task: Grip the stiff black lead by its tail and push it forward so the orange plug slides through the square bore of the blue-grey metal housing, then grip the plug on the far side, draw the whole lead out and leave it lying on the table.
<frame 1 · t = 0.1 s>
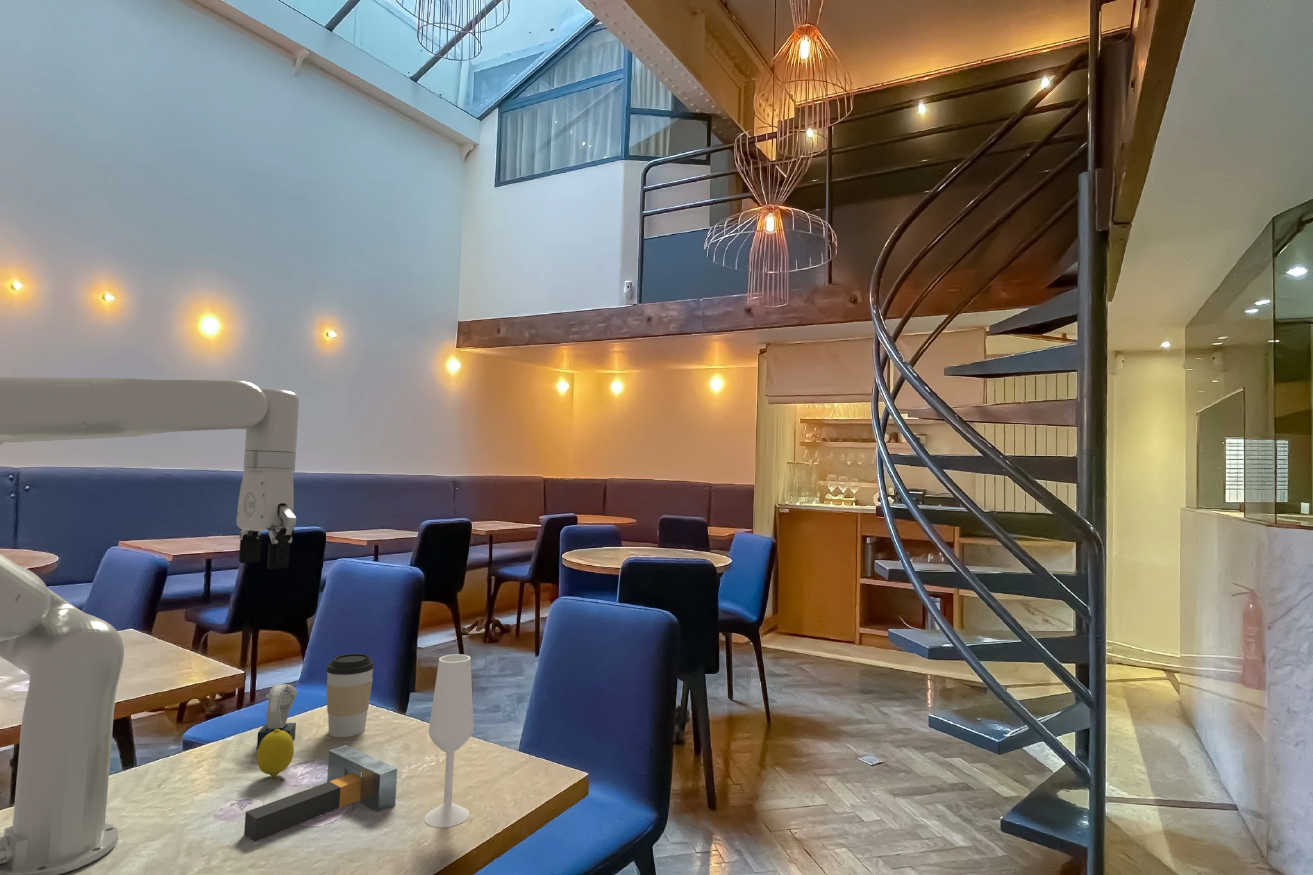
hand: (263, 565, 112), 37 cm above the table, tool pointing down, fingers open, 9 cm apart
watch: (276, 744, 129), on the table
housing: (360, 794, 110), on the table
coffee cup: (346, 731, 136), on the table
lemon: (274, 777, 115), on the table
champagne flute: (447, 817, 104), on the table
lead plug: (306, 815, 103), on the table
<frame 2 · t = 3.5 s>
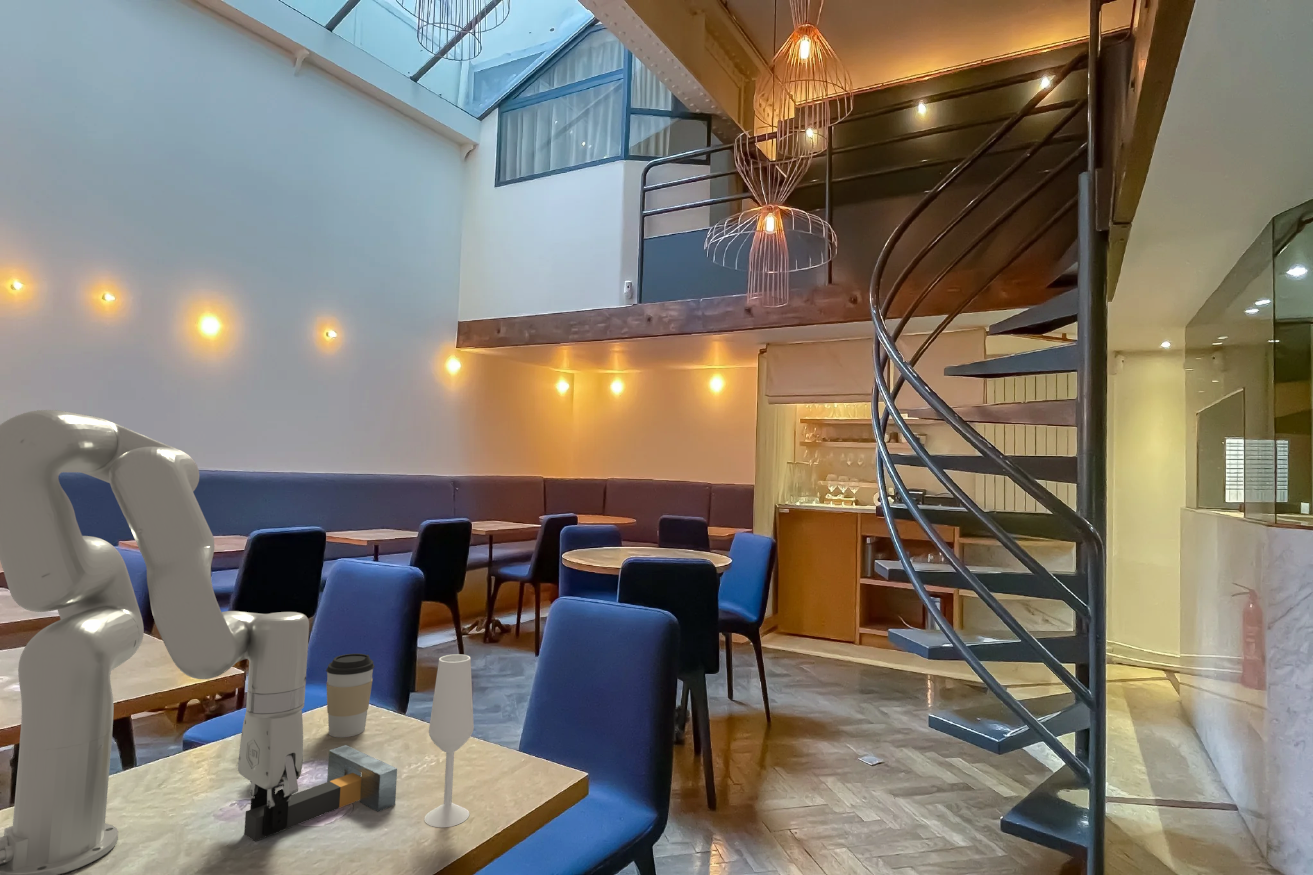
hand: (268, 825, 98), 1 cm above the table, tool pointing down, fingers closed on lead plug, 3 cm apart
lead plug: (306, 815, 103), on the table, touching gripper
everything else where it was.
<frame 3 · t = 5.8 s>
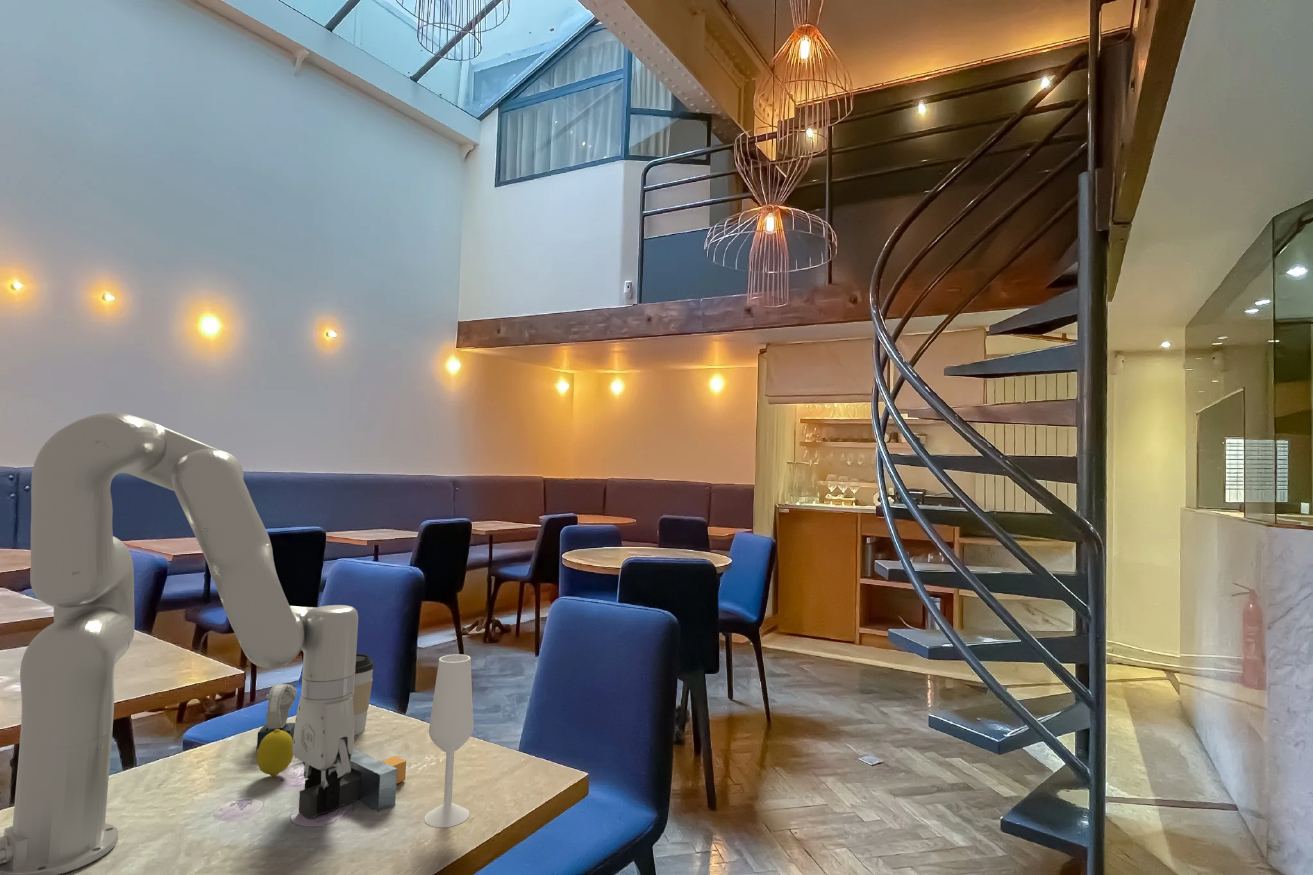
hand: (321, 805, 104), 1 cm above the table, tool pointing down, fingers closed on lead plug, 3 cm apart
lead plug: (354, 795, 109), on the table, touching gripper
everything else where it was.
when the fingers open (1 cm above the table, at t = 6.6 s): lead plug stays where it is, on the table.
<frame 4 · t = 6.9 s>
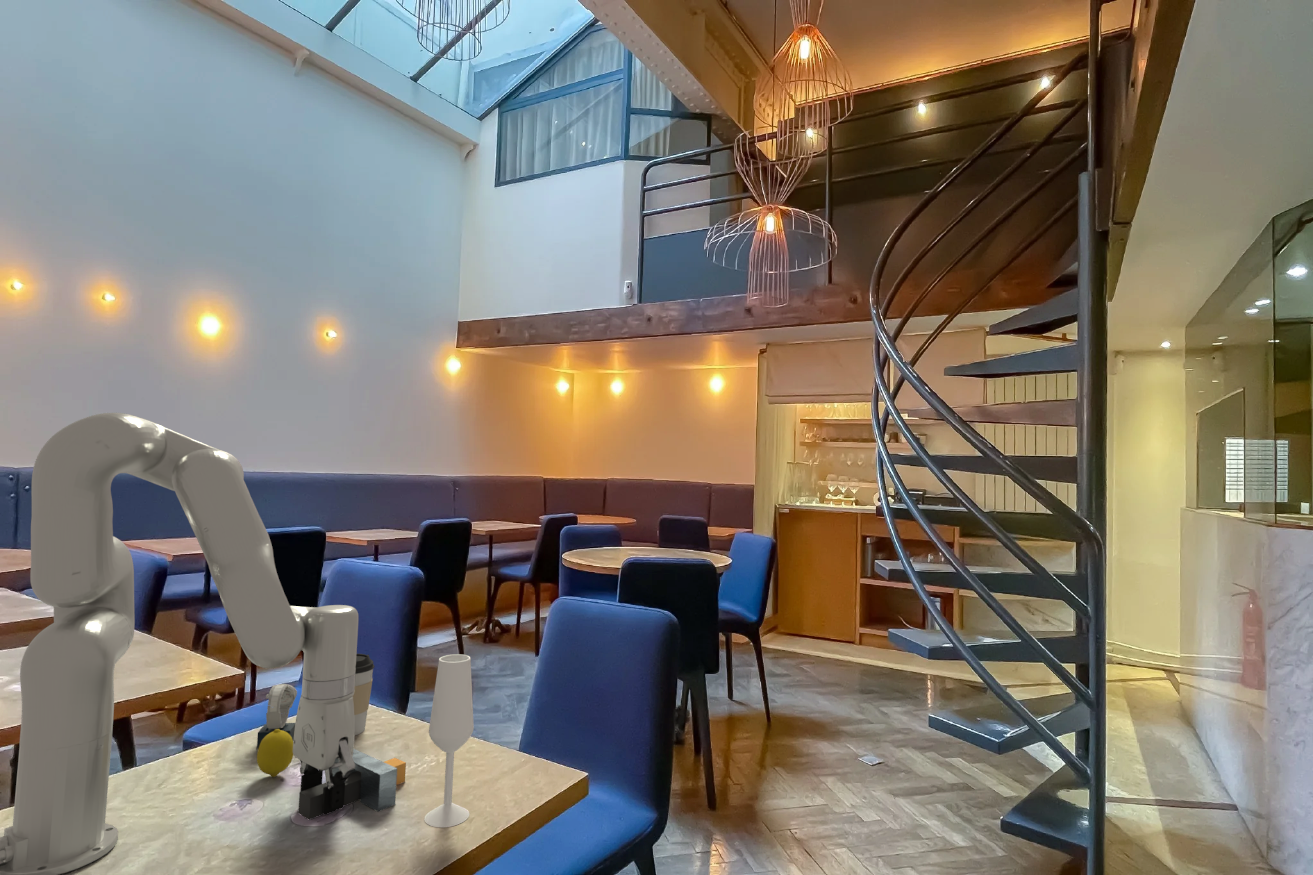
hand: (321, 803, 105), 1 cm above the table, tool pointing down, fingers open, 5 cm apart
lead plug: (354, 796, 109), on the table
everything else where it was.
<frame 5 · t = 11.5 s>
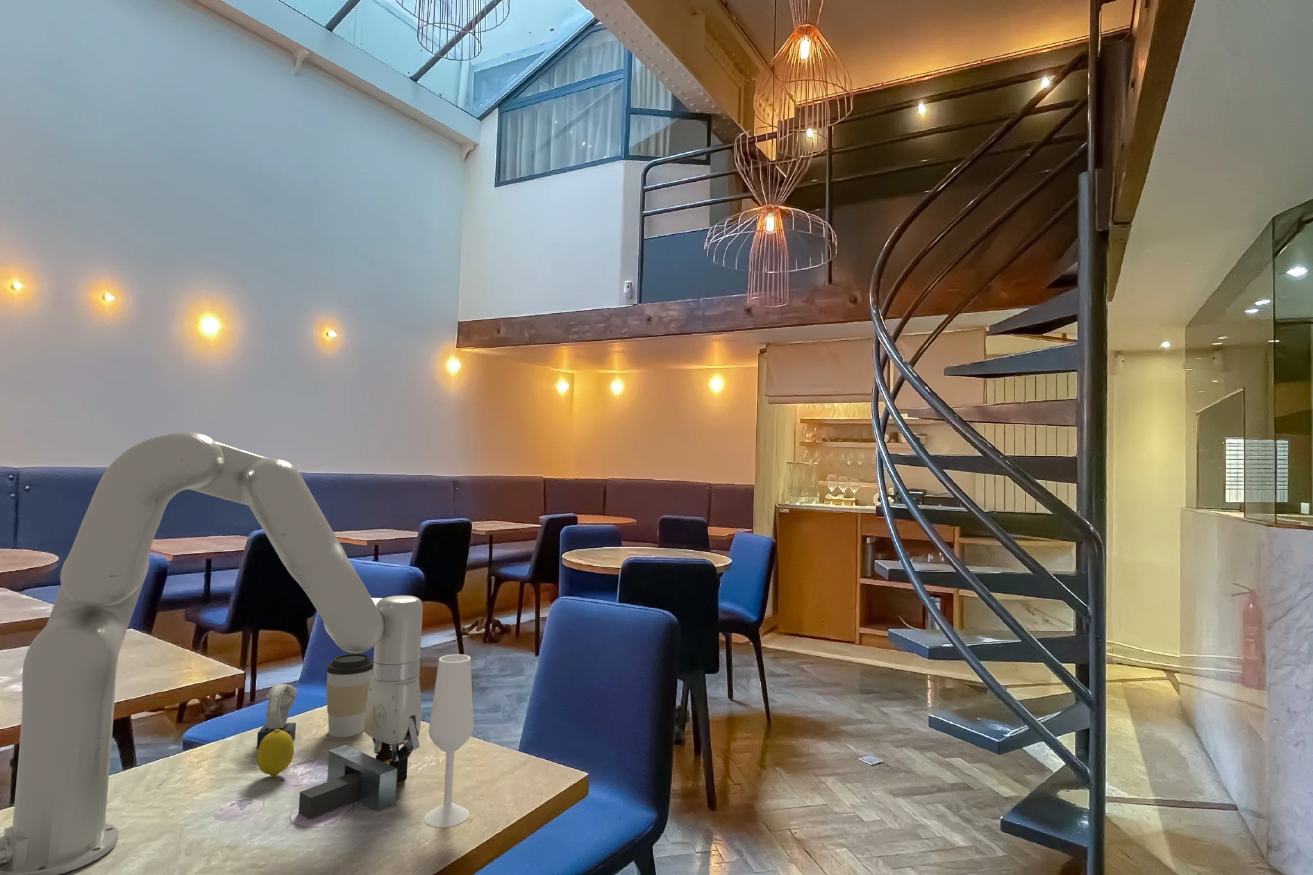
hand: (390, 778, 114), 1 cm above the table, tool pointing down, fingers closed on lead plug, 3 cm apart
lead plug: (354, 796, 109), on the table, touching gripper
everything else where it was.
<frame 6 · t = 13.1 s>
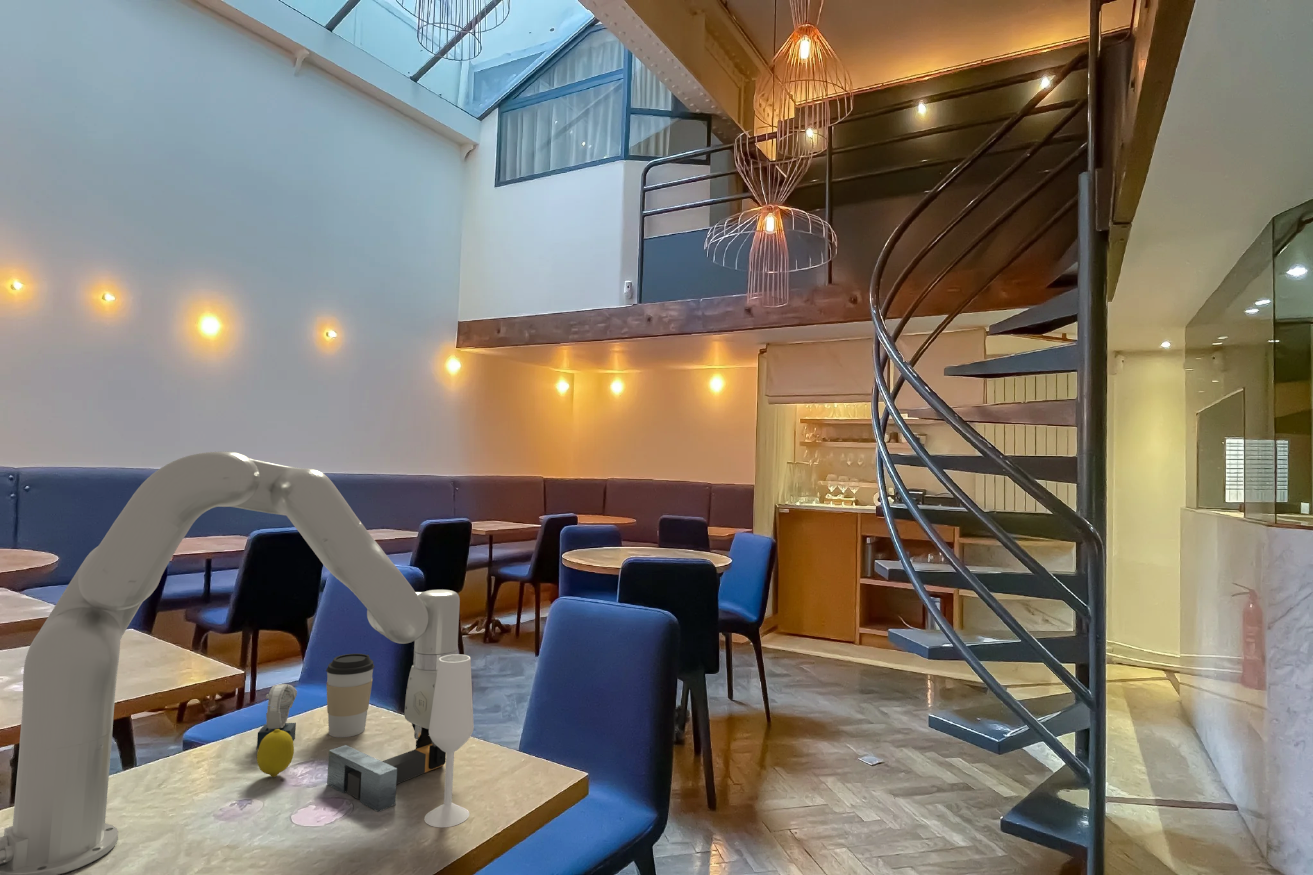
hand: (430, 762, 121), 1 cm above the table, tool pointing down, fingers closed on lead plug, 3 cm apart
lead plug: (397, 778, 115), on the table, touching gripper
everything else where it was.
when the fingers open (1 cm above the table, at t = 14.8 s): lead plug stays where it is, on the table.
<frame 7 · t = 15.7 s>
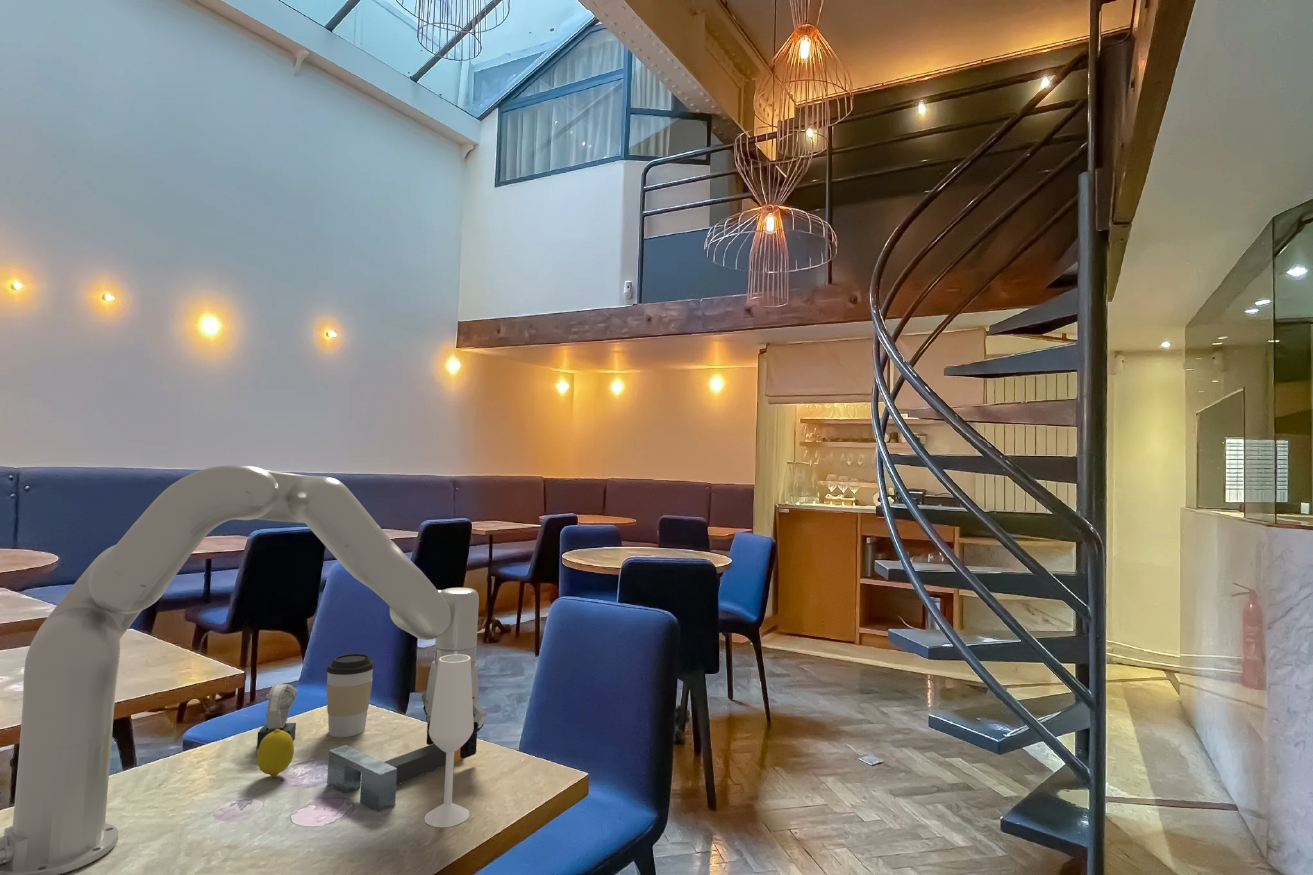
hand: (450, 749, 125), 2 cm above the table, tool pointing down, fingers open, 9 cm apart
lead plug: (420, 770, 119), on the table
everything else where it was.
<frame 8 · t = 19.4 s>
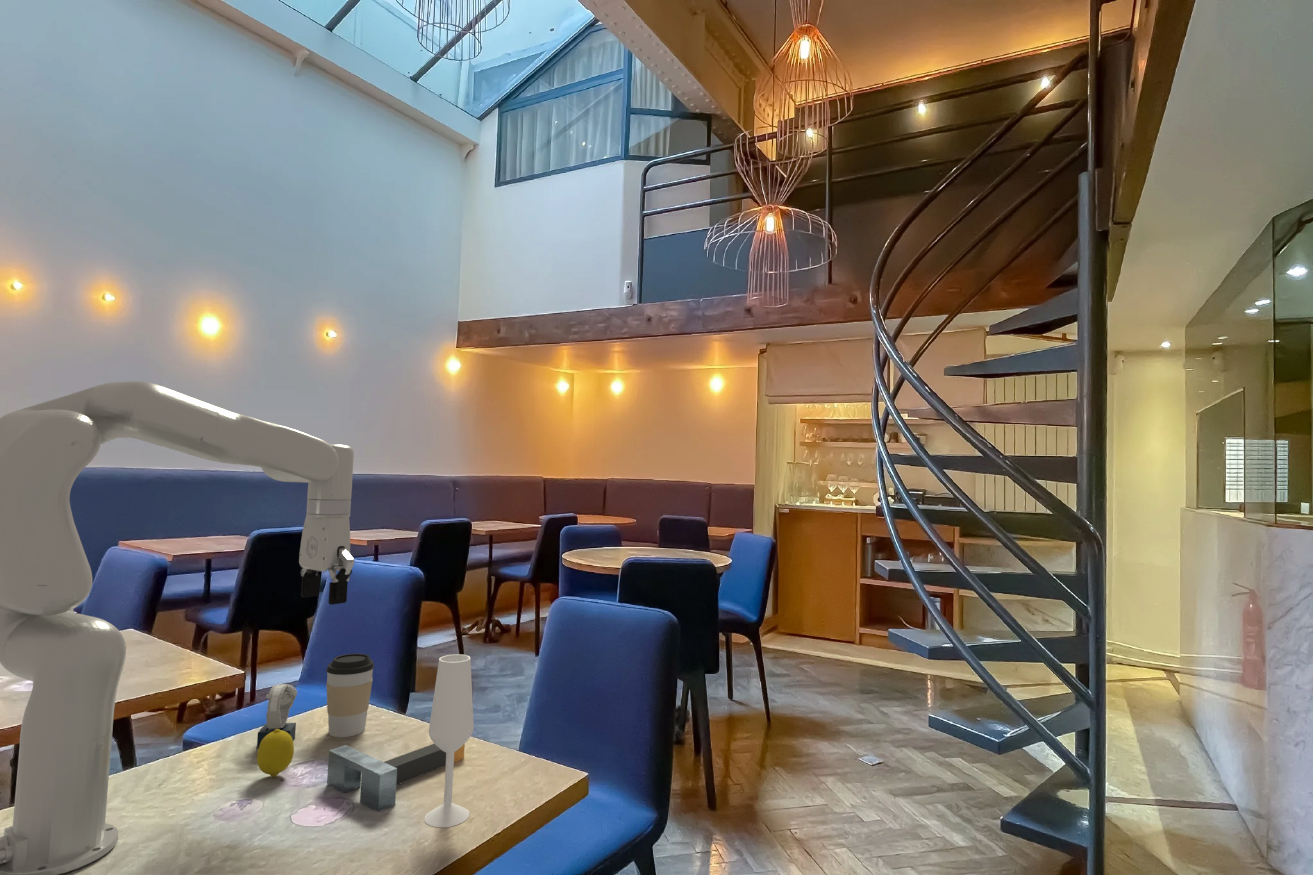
hand: (323, 600, 126), 28 cm above the table, tool pointing down, fingers open, 9 cm apart
nothing on the table moved.
at the end: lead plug inside the target area (4.5 cm from its centre), on the table; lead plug touching table; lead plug tilted 0° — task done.
